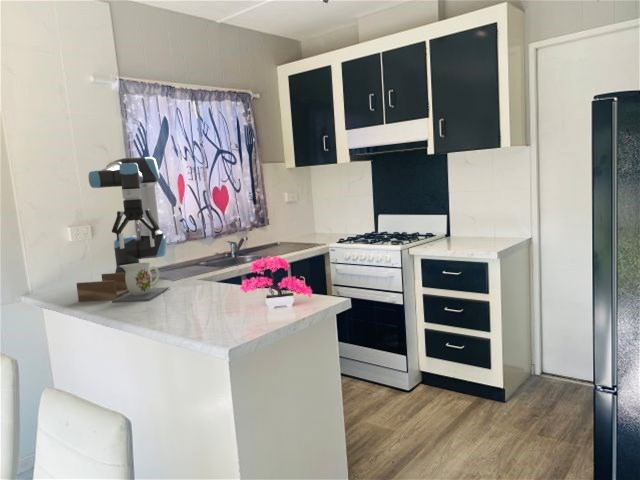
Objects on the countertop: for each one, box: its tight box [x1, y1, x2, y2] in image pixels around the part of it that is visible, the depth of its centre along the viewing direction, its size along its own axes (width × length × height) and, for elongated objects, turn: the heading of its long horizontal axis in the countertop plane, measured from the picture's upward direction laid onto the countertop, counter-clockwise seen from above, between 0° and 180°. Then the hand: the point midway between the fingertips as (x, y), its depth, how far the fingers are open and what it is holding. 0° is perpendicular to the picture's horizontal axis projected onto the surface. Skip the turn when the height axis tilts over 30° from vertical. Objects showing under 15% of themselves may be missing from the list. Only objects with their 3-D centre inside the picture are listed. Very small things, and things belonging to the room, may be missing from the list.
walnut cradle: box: [76, 272, 129, 302], centre depth 222 cm, size 24×16×8 cm
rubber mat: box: [111, 286, 170, 304], centre depth 215 cm, size 24×16×1 cm, turn 178°
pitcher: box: [119, 262, 160, 296], centre depth 214 cm, size 11×18×14 cm, turn 139°
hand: (137, 247), depth 213 cm, fingers open, 13 cm apart
